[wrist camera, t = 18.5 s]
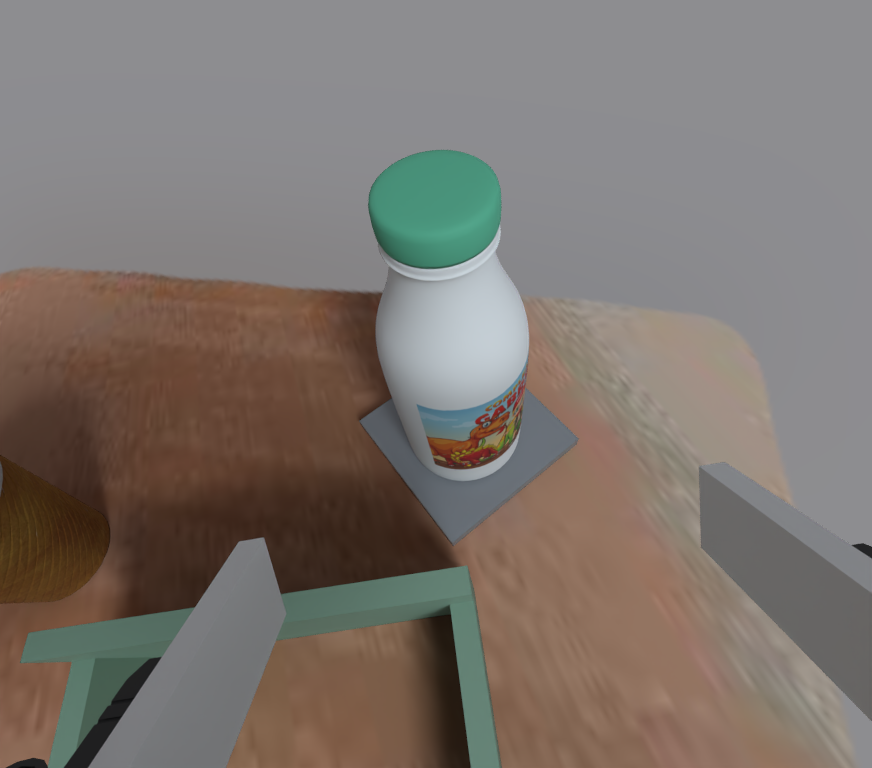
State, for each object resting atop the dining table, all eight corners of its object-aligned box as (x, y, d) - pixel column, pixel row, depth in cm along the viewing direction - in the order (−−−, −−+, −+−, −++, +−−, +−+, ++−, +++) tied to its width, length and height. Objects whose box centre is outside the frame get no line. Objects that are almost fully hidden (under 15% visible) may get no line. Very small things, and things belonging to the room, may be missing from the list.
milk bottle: (397, 472, 32) (284, 259, 15) (424, 376, 35) (359, 115, 18) (510, 494, 30) (533, 285, 13) (526, 392, 34) (561, 121, 17)
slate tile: (362, 426, 35) (359, 421, 34) (475, 346, 38) (475, 339, 37) (453, 546, 30) (451, 543, 29) (576, 444, 33) (578, 438, 32)
